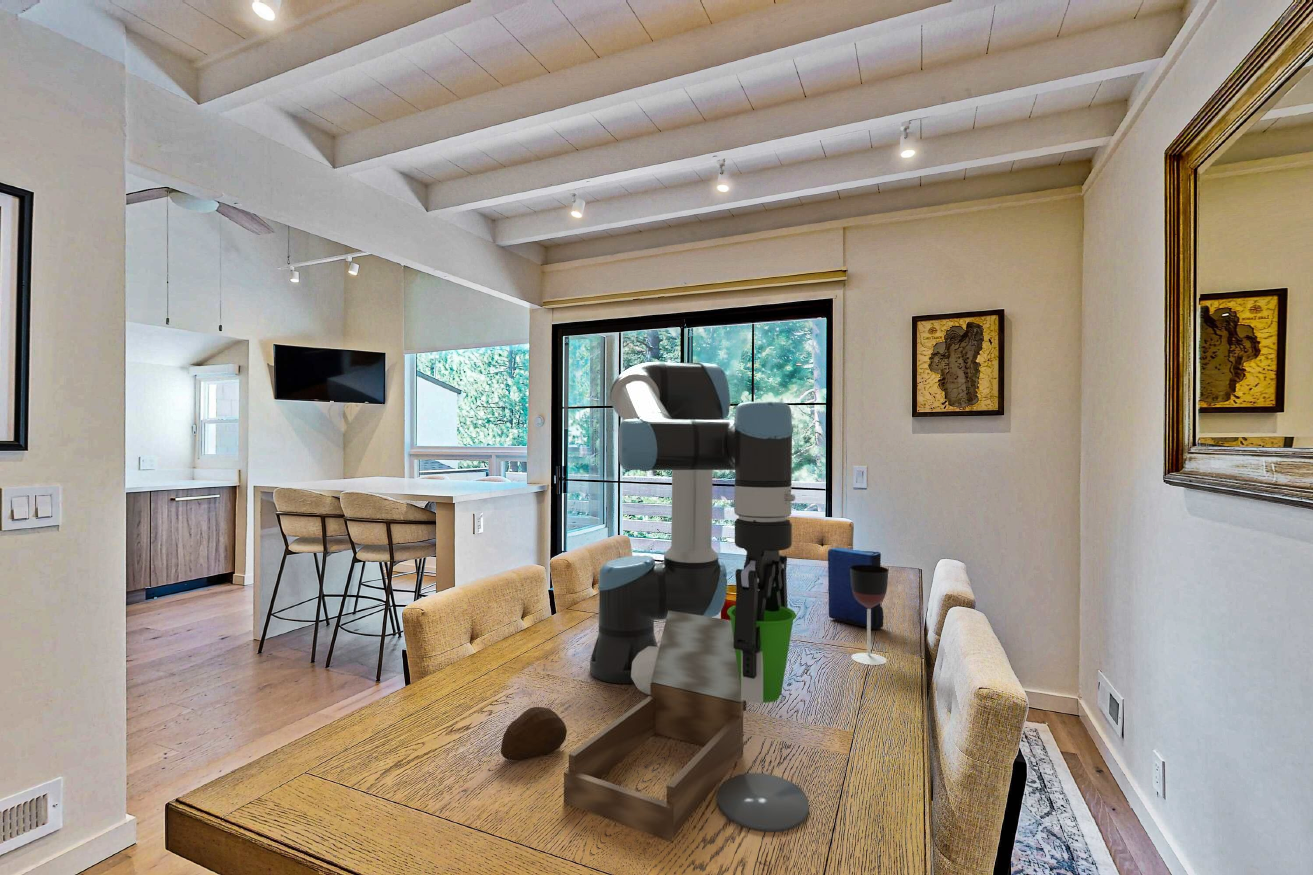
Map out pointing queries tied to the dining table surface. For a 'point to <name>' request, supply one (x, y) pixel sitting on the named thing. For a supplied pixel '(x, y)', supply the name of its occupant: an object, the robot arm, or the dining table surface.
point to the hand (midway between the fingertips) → (762, 689)
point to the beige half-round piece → (644, 668)
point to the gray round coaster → (762, 802)
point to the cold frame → (669, 730)
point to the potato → (533, 735)
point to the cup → (771, 648)
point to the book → (840, 588)
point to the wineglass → (869, 601)
